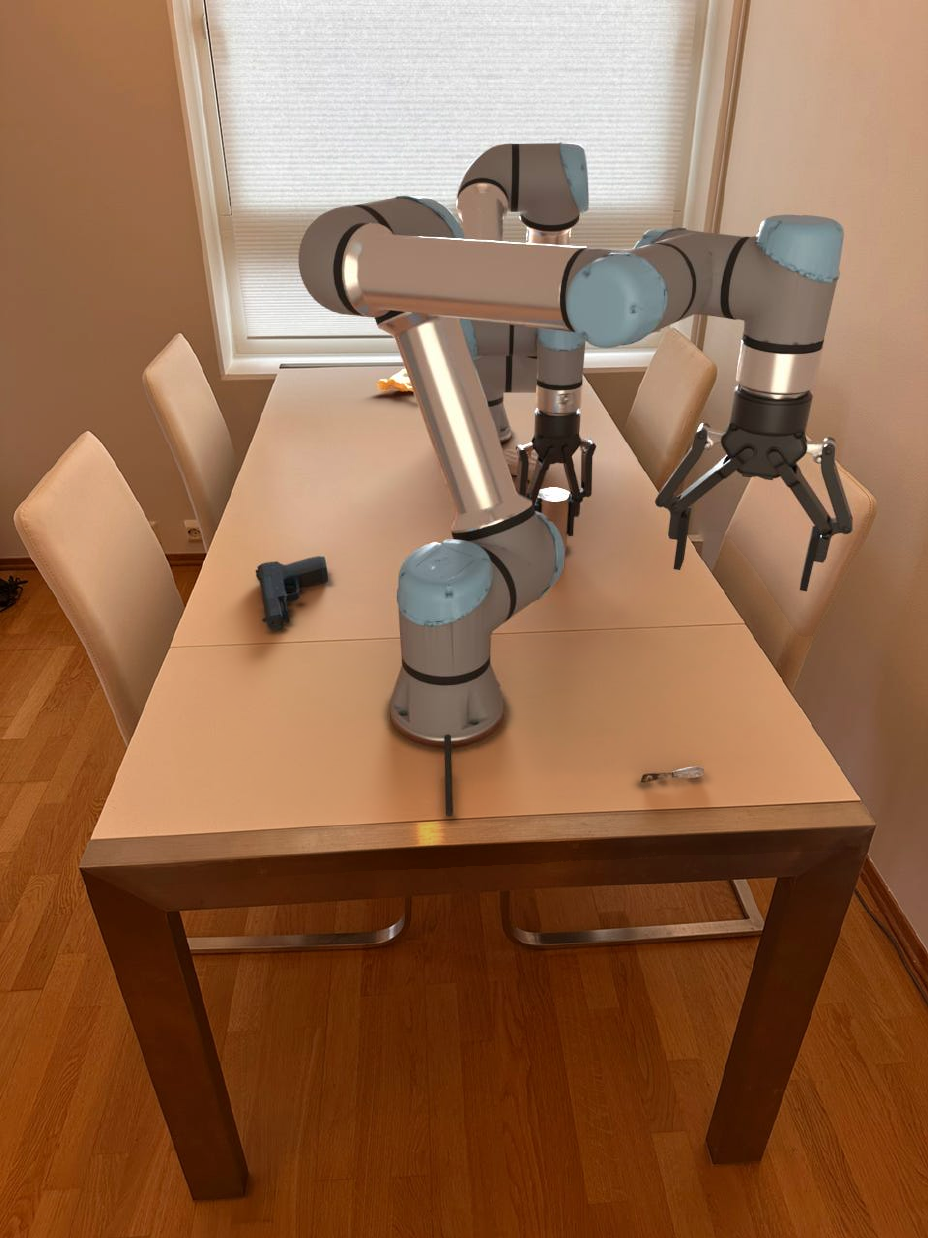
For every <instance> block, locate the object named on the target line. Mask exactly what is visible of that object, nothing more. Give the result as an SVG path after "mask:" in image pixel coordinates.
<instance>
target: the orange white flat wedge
mask: <svg viewBox="0 0 928 1238" xmlns="http://www.w3.org/2000/svg"><path fill="white" fill-rule="evenodd" d="M404 375H407V372H406V369H405V367H403V369H402V370H401V369H400V370H399V372H398V373H395V374H394V375H391V377H390V378H388V379H383V378H382V379H379V380H378V381H377V389H378V390H380V391H384V392H386V391H390V390H391V387H393V388H395V389H396V390H397V391H400V392H408V391H409V392H413V389H412V386H411V384H410V381H409V378H408V376H407V377H406V376H404Z"/></svg>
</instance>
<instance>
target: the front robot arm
mask: <svg viewBox="0 0 928 1238" xmlns="http://www.w3.org/2000/svg"><path fill="white" fill-rule="evenodd" d="M844 239H845V231H844V227H843V226H842V224H841V223H840V222H839V221H837V220H836V219H834V218H830V217H827V216H826V217H825V216H819V215H811V214H809V215H808V214H801V215H800V214H799V215H798V214H779V215H778V214H777V215H772V216H771V215H770V216H768V217H766V218H765V219H763V220H762V221H761V222H760V226H759V232H758V233H757V234H756V235H753V236H743V235H732V234H726V233H725V234H724V233H717V232H716V233H715V232H707V231H699V230H689V229H687V228H686V227H679V226H678V227H675V228H661V227H660V228H659V227H658V228H657V227H656V228H652V229H649V230H647V231H646V232H644V233H643V234H642V235H641V238H640V240H638V241H636V243H635V245H634V247H633V248H610V247H608V248H607V247H587V246H576V245H569V246H561V245H545V244H529V243H526V242H514V241H513V242H512V241H510V242H509V241H503V242H497V241H481V240H466V238H465V235H464V232H463V230H462V225H461V224H460V222H459V220H458V219H457V217H456V216H455V215H454V213H453V212H452V211H451V210H450V209H449V208H448V207H446V206H445V205H444V204H443V203H441V202H439V201H437V199H434V198H431V197H428V196H423V195H417V196H416V195H415V196H411V195H397V196H395V197H392V198H387V199H381V200H376V201H369V202H364V203H359V204H352V205H343V206H342V205H341V206H339V207H333V208H332V209H330V210H327V211H325V212H323V213H322V214H320V215H319V216H317V218H316V219H314V220H313V222H312V223H311V224H310V225H308V227H307V228H306V230H305V232H304V234H303V236H302V238H301V241H300V245H299V249H298V269H299V274H300V277H301V280H302V283H303V286H304V287H305V289H306V291H307V293H308V294H309V295H310V296H311V298H312V299H313V300H314V301H315V302H316V303H318V304H319V305H320V306H321V307H323V308H324V309H326V310H329V311H331V312H332V313H337V314H339V315H347V316H357V317H363V318H364V317H365V318H374V320H375V323H376V326H377V328H378V329H379V330H381V331H383V332H385V333H387V334H389V335H390V336H391V337H393V338H394V342H395V344H396V347H397V350H398V352H399V355H400V358H401V361H402V363H403V366H404V367H405V369H406V372H407V374H406V375H407V378H409V381H410V384H411V386H412V389H413V391H412V392H413V395H414V398H415V400H416V404H417V406H418V409H419V412H420V414H421V417H422V420H423V423H424V426H425V429H426V432H427V435H428V437H429V440H430V443H431V446H432V449H433V451H434V454H435V457H436V460H437V463H438V465H439V468H440V471H441V474H442V477H443V480H444V483H445V485H446V489H447V491H448V494H449V497H450V500H451V502H452V505H453V508H454V511H455V516H454V519H453V520H452V522H451V525H450V527H449V531H450V534H451V536H452V539H444V540H443V541H442V542H440V543H439V542H437V541H432V542H430V543H427V544H425V545H422V546H420V547H419V548H417V549H415V550H414V551H413V552H411V553H410V554H409V555H408V556H407V557H406V558H405V559H404V561H403V563H402V564H401V566H400V568H399V571H398V578H397V583H398V584H397V590H396V603H397V607H398V608H397V609H398V620H399V621H398V622H399V640H400V655H401V667H400V669H399V672H398V675H397V678H396V681H395V684H394V687H393V690H392V693H391V696H390V703H389V706H390V718H391V721H392V724H393V725H394V727H395V728H396V729H397V731H398V732H399V733H400V734H402V735H403V736H404V737H406V738H407V739H409V740H411V741H413V742H415V743H417V744H420V745H421V744H422V745H425V746H430V747H437V748H444V790H445V791H444V792H445V794H444V797H445V800H444V801H445V815H446V816H447V817H452V816H453V815H454V801H453V764H452V763H453V762H452V759H453V758H452V748H454V747H455V748H457V747H463V746H467V745H471V744H473V743H476V742H480V741H481V740H483V739H485V738H486V737H488V736H489V735H491V734H492V733H493V732H494V731H495V730H496V729H498V727H499V726H500V724H501V722H502V720H503V717H504V697H503V693H502V690H501V685H500V683H499V681H498V679H497V677H496V674H495V672H494V668H493V666H492V664H491V654H492V653H491V651H492V649H491V648H492V647H491V645H492V634H493V632H494V631H495V630H497V629H498V628H499V627H501V626H503V624H505V623H506V622H507V621H509V620H510V619H511V618H513V617H514V616H515V615H517V614H518V613H520V612H521V611H523V610H524V609H526V608H528V607H529V606H530V605H531V604H532V603H535V602H537V601H538V600H540V599H542V598H543V597H544V596H545V595H546V594H547V593H548V591H549V590H550V589H551V588H552V587H553V586H555V584H556V583H557V582H558V581H559V579H560V577H561V575H562V573H563V570H564V567H565V561H566V552H565V550H564V544H563V540H562V537H561V535H560V533H559V531H558V529H557V528H556V526H555V525H554V523H553V522H549V521H547V517H546V516H545V515H543V514H541V513H539V512H537V511H535V510H534V507H533V504H532V501H531V500H530V499H528V498H526V497H524V496H522V495H520V494H519V493H518V492H517V491H516V484H515V483H514V479H513V477H512V474H511V473H510V470H509V467H508V464H507V461H506V458H505V455H504V452H503V449H504V448H503V446H502V443H500V440H499V437H498V434H497V431H496V428H495V425H494V422H493V419H492V416H491V413H490V410H489V407H488V404H487V401H486V398H485V395H484V392H483V389H482V386H481V383H480V379H479V376H478V373H477V370H476V367H475V364H474V361H473V358H472V355H471V352H470V349H469V346H468V343H467V340H466V337H465V334H464V331H463V328H462V325H461V322H460V319H459V318H461V319H469V320H477V321H486V322H494V323H502V324H511V325H519V326H527V327H536V328H544V329H552V330H560V331H569V332H576V333H577V334H578V335H579V336H580V337H582V338H583V339H584V340H585V341H586V342H587V343H588V344H589V345H591V346H593V347H595V348H600V349H612V348H613V349H614V348H617V347H620V346H629V345H632V344H636V343H638V342H640V341H641V340H643V339H645V338H646V337H648V336H649V335H652V334H653V333H655V332H657V331H660V330H662V329H665V328H666V327H669V326H671V325H673V324H675V323H677V322H680V321H682V320H684V319H687V318H690V317H692V316H693V315H699V316H700V315H701V316H707V317H708V316H709V317H714V318H715V317H716V318H722V319H729V320H735V321H737V320H739V321H743V333H742V337H741V343H740V348H739V349H740V350H739V356H738V361H737V368H736V369H737V370H736V376H735V380H736V382H737V383H738V385H737V386H736V387H734V389H733V394H732V401H731V408H730V414H729V419H728V425H727V427H726V428H725V430H720V429H717V428H712V427H711V425H710V424H709V423H708V422H702V423H700V424H699V426H698V428H697V430H696V433H695V434H694V439H693V443H692V445H691V446H690V448H689V450H688V451H687V452H686V454H685V455H684V457H683V458H682V459H681V460H680V462H679V463H678V465H676V468H675V469H674V470H673V472H672V473H671V474H670V476H669V478H668V479H667V480H666V482H665V483H664V484H663V485H662V487H661V489H660V490H659V492H658V493H657V496H656V497H655V501H654V504H655V506H656V507H658V508H664V509H666V510H668V512H669V514H670V516H669V523H668V531H667V535H668V539H669V540H675V541H676V547H675V554H674V562H673V570H677V571H681V569H682V567H683V564H684V561H685V555H686V548H687V542H688V541H687V540H688V534H689V529H690V520H691V514H692V507H691V506H692V505H693V504H694V503H696V502H697V501H698V500H700V499H701V498H702V497H703V496H705V495H706V494H707V493H708V492H710V491H711V490H712V489H713V488H714V487H715V486H717V485H718V484H719V483H721V482H722V481H723V480H724V479H725V480H726V479H727V478H728V477H731V475H732V474H734V473H735V472H737V473H739V474H741V477H745V478H756V477H757V478H761V479H762V480H767V481H773V480H774V479H778V478H781V480H782V481H783V483H784V484H785V486H786V487H787V488H788V489H790V491H791V493H792V494H793V495H794V497H795V498H796V500H797V501H798V503H799V504H800V506H801V507H802V508H803V510H804V511H805V513H806V515H807V516H808V518H809V519H810V521H811V523H812V524H813V525H812V527H811V528H812V529H811V533H810V538H809V542H808V546H807V551H806V554H805V559H804V563H803V568H802V573H801V577H800V585H799V591H801V592H808V589H809V584H810V581H811V575H812V572H813V571H812V570H813V567H814V562H816V563H822V564H823V563H824V562H825V561H826V560H827V557H828V552H829V547H830V544H831V539H832V537H833V536H834V535H838V534H842V535H848V534H851V533H852V532H853V525H854V524H853V522H854V521H853V519H854V517H853V515H852V511H851V507H850V504H849V502H848V499H847V496H846V492H845V489H844V486H843V483H842V479H841V476H840V474H839V470H838V466H837V463H836V460H835V455H836V445H837V443H836V440H835V438H834V437H831V436H828V437H826V438H824V440H808V439H807V437H806V432H807V427H808V422H809V417H810V413H811V408H812V403H813V398H814V395H813V394H812V392H811V391H812V390H813V389H814V388H815V387H816V382H817V378H818V373H819V370H820V364H821V359H822V355H823V351H824V350H823V349H824V344H825V343H824V342H825V337H826V332H827V327H828V324H829V319H830V315H831V309H832V305H833V301H834V297H835V292H836V288H837V283H838V280H839V279H840V273H841V272H840V265H841V258H842V251H843V246H844ZM586 342H585V343H586ZM404 367H403V368H404ZM718 443H719V444H721V448H723V451H724V452H725V454H726V455H724V456H723V458H721V459H720V460H719V461H718V463H716V464H715V465H714V466H713V467H712V468H710V469H709V470H708V471H707V472H705V473H704V474H703V475H702V476H701V477H699V478H698V479H697V480H696V481H694V482H693V483H692V484H691V485H690V486H688V487H687V488H686V489H685V490H684V491H683V492H681V493H680V494H679V495H678V494H675V492H676V491H677V489H679V487H680V486H681V484H682V483H683V482H684V480H685V479H686V477H687V476H688V475H689V474H690V472H691V471H692V469H693V468H694V467H695V465H696V464H697V462H698V461H699V460H700V458H701V456H702V454H703V452H704V450H707V451H710V450H711V449H713V447H714V446H715V444H718ZM806 454H808V455H810V456H811V457H812V460H813V462H814V463H815V464H820V470H821V471H820V472H821V475H822V478H823V481H824V485H825V489H826V491H827V494H828V497H829V500H830V504H831V506H832V510H833V513H834V516H835V517H831V515H830V513H829V512H828V511H827V509H826V508H825V506H824V505H823V502H822V501H821V500H820V499H819V497H818V496H817V494H816V493H815V491H814V490H813V487H812V486H811V485H810V484H809V482H808V481H807V479H806V478H805V476H804V475H803V472H802V470H801V468H800V466H799V464H798V462H799V461H800V460H801V459H803V457H805V455H806Z"/></svg>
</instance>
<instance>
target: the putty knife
mask: <svg viewBox="0 0 928 1238" xmlns="http://www.w3.org/2000/svg"><path fill="white" fill-rule="evenodd" d="M704 772H705V771H704V768H702V767H701V766H697V765H695V766H688V767H683V768H679V769H675V770H673V771H671V772H653V773H652V772H651V773H650V772H649V773H644V774H642V776H641V779H640V783H642V784H645V783H648V782H653V781H659V780H665V779H668V778H673V779H674V778H675V779H693V778H694V779H695V778H700V777H702V776H703V775H704Z"/></svg>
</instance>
